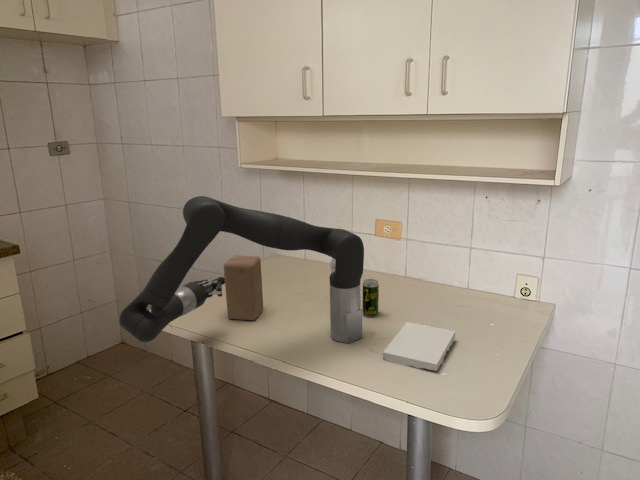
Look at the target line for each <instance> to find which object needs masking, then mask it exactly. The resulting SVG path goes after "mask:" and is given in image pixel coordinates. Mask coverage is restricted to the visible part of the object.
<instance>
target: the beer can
mask: <svg viewBox="0 0 640 480" xmlns="http://www.w3.org/2000/svg"><path fill="white" fill-rule="evenodd" d="M379 288H380V287H379V280H377V279H373V278H367V279H364V280H363V282H362V316H364V317H365V318H368V319H369V318H372V319H373V318H376V317H378V315H379V297H380V296H379V295H380V294H379V293H380V292H379Z"/></svg>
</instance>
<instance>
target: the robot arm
mask: <svg viewBox="0 0 640 480" xmlns="http://www.w3.org/2000/svg"><path fill="white" fill-rule="evenodd" d="M182 216H183V219H184V221H185V223H186V226H185V227H184V229H183V233H182V235H181V237H180V238H179V241H178V243H177V244H176V246H175V247H174V248H173V250H171V252H169V254H168V255H167V256H166V257H165V258H164V260H163V261H162V262H161V263H160V264H159V265H158V266H157V268H156V269H155V271H154V272H153V274H152V276H151V277H150V278H149V280H148V281H147V284H146V285H145V287H144V289H143V290H142V291H141V292H140V293H139V294H138V295H137V296H136V297H135V298H134V299H133V300H132V301H131V302H130V303H129V304H128V305H127V306H126V307H124V308H123V309H122V311H121V312H120V314H119V325H120V327H121V328H123V329H124V331H126V332H127V333H128V334H130V335H131V336H133V338H135V339H136V340H137V341H138V342H142V343H149V342H151V341H154V340H155V339H156V338H157V337H158V336H159V335H160V333H161V332H162V331H163V330H164V329H165V328H166V327H167V326H168V325H169V324H171V322H173V321H175V320H176V319H178V318H180V317H183V316H185V315H187V314H189V313H191V312H193V311H194V310H197V309H198V308H200V307H201V306H203V305H204V304H205V302H206V300H207V299H209V298H212V297H213V296H214V295H216V296H217V297H223V287H222V286H223V285H225V277H224V276H218V277H217V278H214V279H210V280H208V279H201V280H195V281H190V282H188V283H187V284H184V285H182V286H181V284H182V282H183V281H184V279H185V277H186V276H187V274H188V273H189V272H190V270H191V268H192V267H193V266H194V264H195V263H196V261H197V260H198V258H199V257H200V256H201V255H202V253H203V252H204V251H205V249H207V247H208V246H209V245H210V244H211V243H212V242H213V241H214V239H215V238H216V237H217V235H218V234H219V233H221V232H223V233H228V234H229V233H230V234H231V235H236V236H237V237H240V238H243V239H246V240H248V241H250V242H252V243H255V244H258V245H261V246H264V247H266V248H271V249H276V250H281V251H305V250H306V251H307V250H308V251H312V252H317V253H319V254H323V255H325V256H328V257H331V259H332V258H334V259H335V260H336V263H335V271H334V272H333V273H331V272H330V275H329V313H330V314H329V319H330V321H329V322H330V337H331V339H332V340H334V341H336V342H341V343H344V344H349V343H352V342H355V341H357V340H360V339H362V338H363V308H361V279H362V277H363V273H364V266H365V265H364V261H365V248H364V247H365V246H364V241H363V240H362V238H361V237H360V236H358V235H357V234H356V233H353V232H351V231H349V230H346V229H342V228H335V227H325V226H318V225H314V224H310V223H307V222H305V221H302V220H299V219H297V218H294V217H290V216H285V215H280V214H277V213H271V212H267V211H262V210H256V209H249V208H245V207H239V206H235V205H231V204H229V203H225V202H223V201H220V200H217V199H214V198H212V197H209V196H205V195H202V196H201V195H198V196H195V197H191V198H190V199H189V200H187V201H186V202H185V204H184V206H183V209H182ZM148 306H150V310H148Z"/></svg>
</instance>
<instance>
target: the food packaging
mask: <svg viewBox="0 0 640 480" xmlns="http://www.w3.org/2000/svg"><path fill="white" fill-rule="evenodd" d="M455 340H456V330H451V329H446V328H440V327H436V326H435V327H434V326H430V325H424V324H420V323H415V322H408V321H406V323H404V325H403V326H402V328H401V329H400V330H399V331H398V333H397V334H396V335H395V337H394V338H393V339H392V340H391V342H390V343H389V344H388V345H387V346H386V347H385V349H384V350H383V352H382V359H383V360H384V361H386V362H390V363H394V364H399V365H403V366H407V367H413V368H416V369H422V370H423V369H424V370H425V369H426V370H428V371H435V372H437V370H439V369H440V366H441V365H442V364H443V363H444V359H445V356H446V355H447V352H449V351H450V348H451V347H452V345H453V343H454V341H455Z"/></svg>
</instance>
